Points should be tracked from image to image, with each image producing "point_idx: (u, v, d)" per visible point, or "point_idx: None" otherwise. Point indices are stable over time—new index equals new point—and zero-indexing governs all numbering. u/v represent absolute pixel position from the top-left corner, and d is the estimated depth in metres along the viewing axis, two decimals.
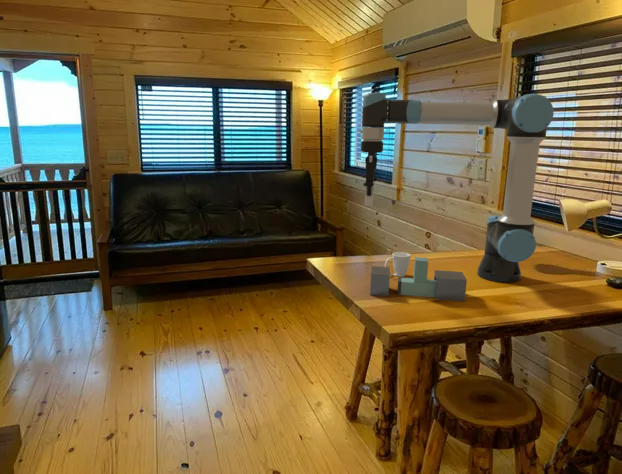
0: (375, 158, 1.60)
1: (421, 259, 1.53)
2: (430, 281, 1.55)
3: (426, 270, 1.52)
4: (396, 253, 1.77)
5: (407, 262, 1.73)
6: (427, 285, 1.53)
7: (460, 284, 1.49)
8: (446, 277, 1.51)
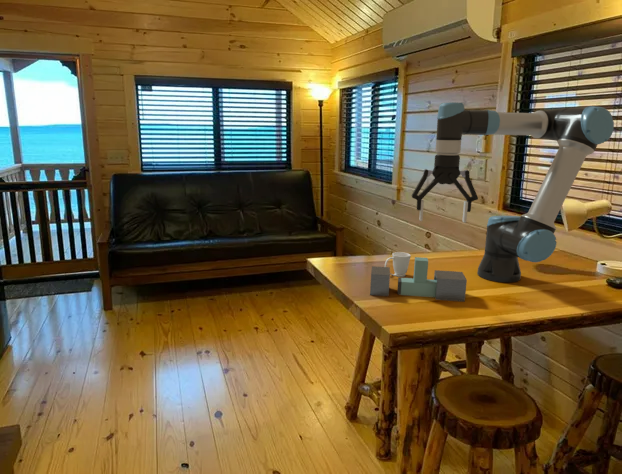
0: (441, 173, 1.47)
1: (421, 259, 1.53)
2: (430, 281, 1.55)
3: (426, 270, 1.52)
4: (396, 253, 1.77)
5: (407, 262, 1.73)
6: (427, 285, 1.53)
7: (460, 284, 1.49)
8: (446, 277, 1.51)
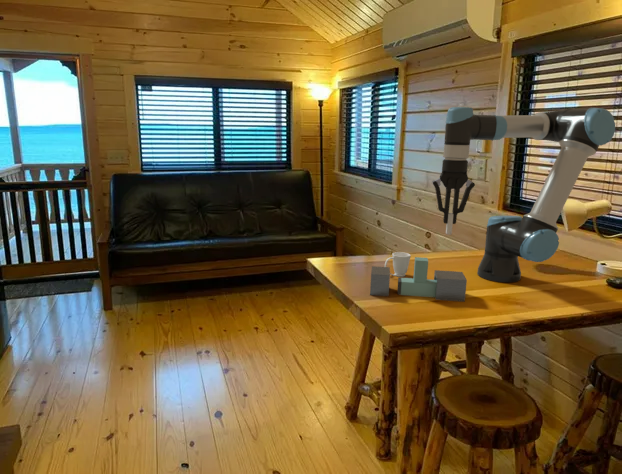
0: (448, 179, 1.46)
1: (421, 259, 1.53)
2: (430, 281, 1.55)
3: (426, 270, 1.52)
4: (396, 253, 1.77)
5: (407, 262, 1.73)
6: (427, 285, 1.53)
7: (460, 284, 1.49)
8: (446, 277, 1.51)
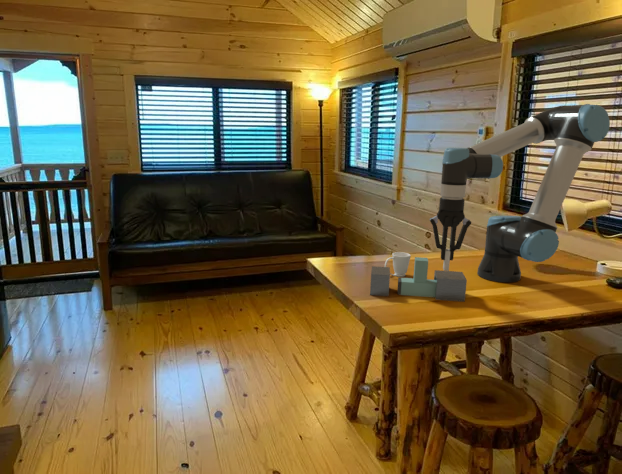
0: (445, 217, 1.48)
1: (421, 259, 1.53)
2: (430, 281, 1.55)
3: (426, 270, 1.52)
4: (396, 253, 1.77)
5: (407, 262, 1.73)
6: (427, 285, 1.53)
7: (460, 284, 1.49)
8: (446, 277, 1.51)
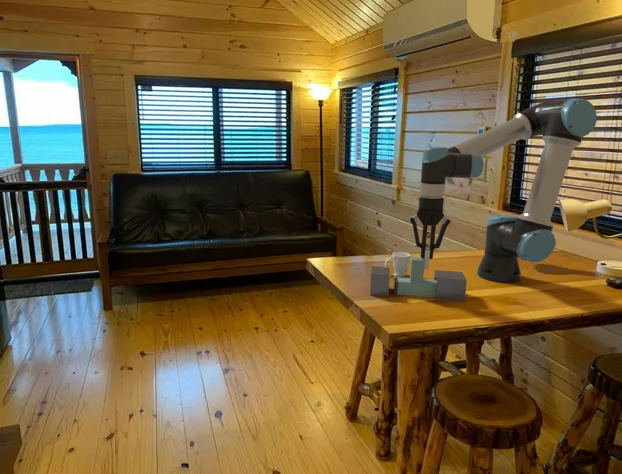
0: (424, 216, 1.49)
1: (417, 259, 1.54)
2: (426, 281, 1.55)
3: (422, 270, 1.53)
4: (396, 253, 1.77)
5: (407, 262, 1.73)
6: (423, 285, 1.53)
7: (460, 284, 1.49)
8: (446, 277, 1.51)
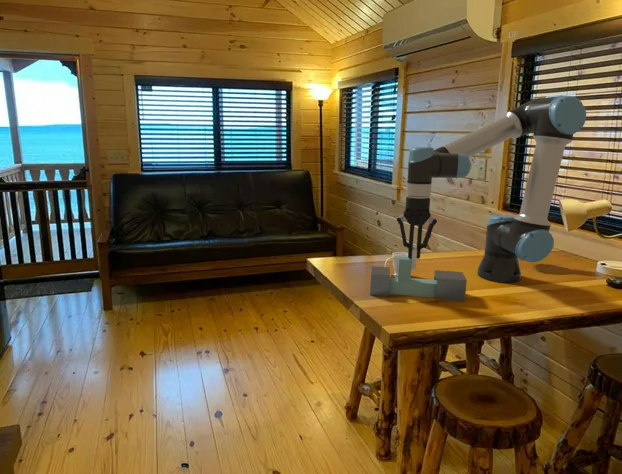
0: (411, 216, 1.50)
1: (405, 258, 1.54)
2: (414, 280, 1.56)
3: (410, 269, 1.53)
4: (396, 253, 1.77)
5: None
6: (411, 284, 1.54)
7: (460, 284, 1.49)
8: (446, 277, 1.51)
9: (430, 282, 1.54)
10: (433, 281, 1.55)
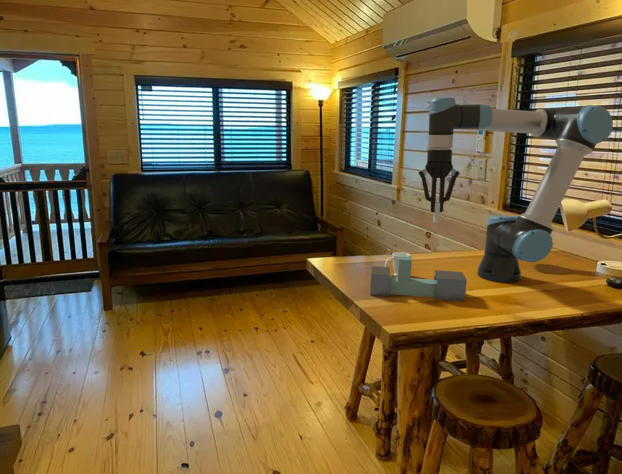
0: (433, 169, 1.49)
1: (405, 258, 1.54)
2: (414, 280, 1.56)
3: (410, 269, 1.53)
4: (396, 253, 1.77)
5: None
6: (411, 284, 1.54)
7: (460, 284, 1.49)
8: (446, 277, 1.51)
9: (430, 282, 1.54)
10: (433, 281, 1.55)
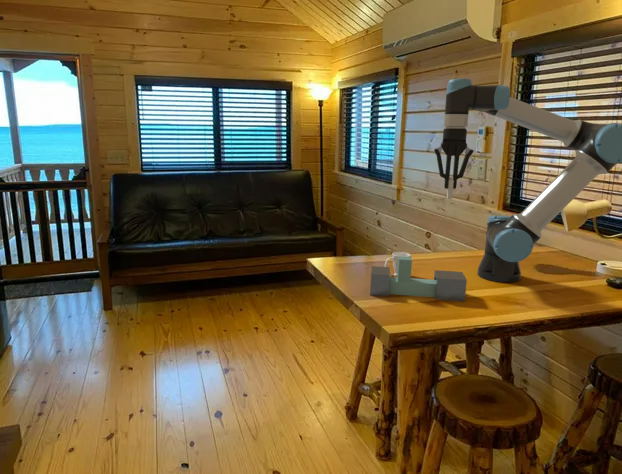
0: (448, 146, 1.57)
1: (405, 258, 1.54)
2: (414, 280, 1.56)
3: (410, 269, 1.53)
4: (396, 253, 1.77)
5: None
6: (411, 284, 1.54)
7: (460, 284, 1.49)
8: (446, 277, 1.51)
9: (430, 282, 1.54)
10: (433, 281, 1.55)
